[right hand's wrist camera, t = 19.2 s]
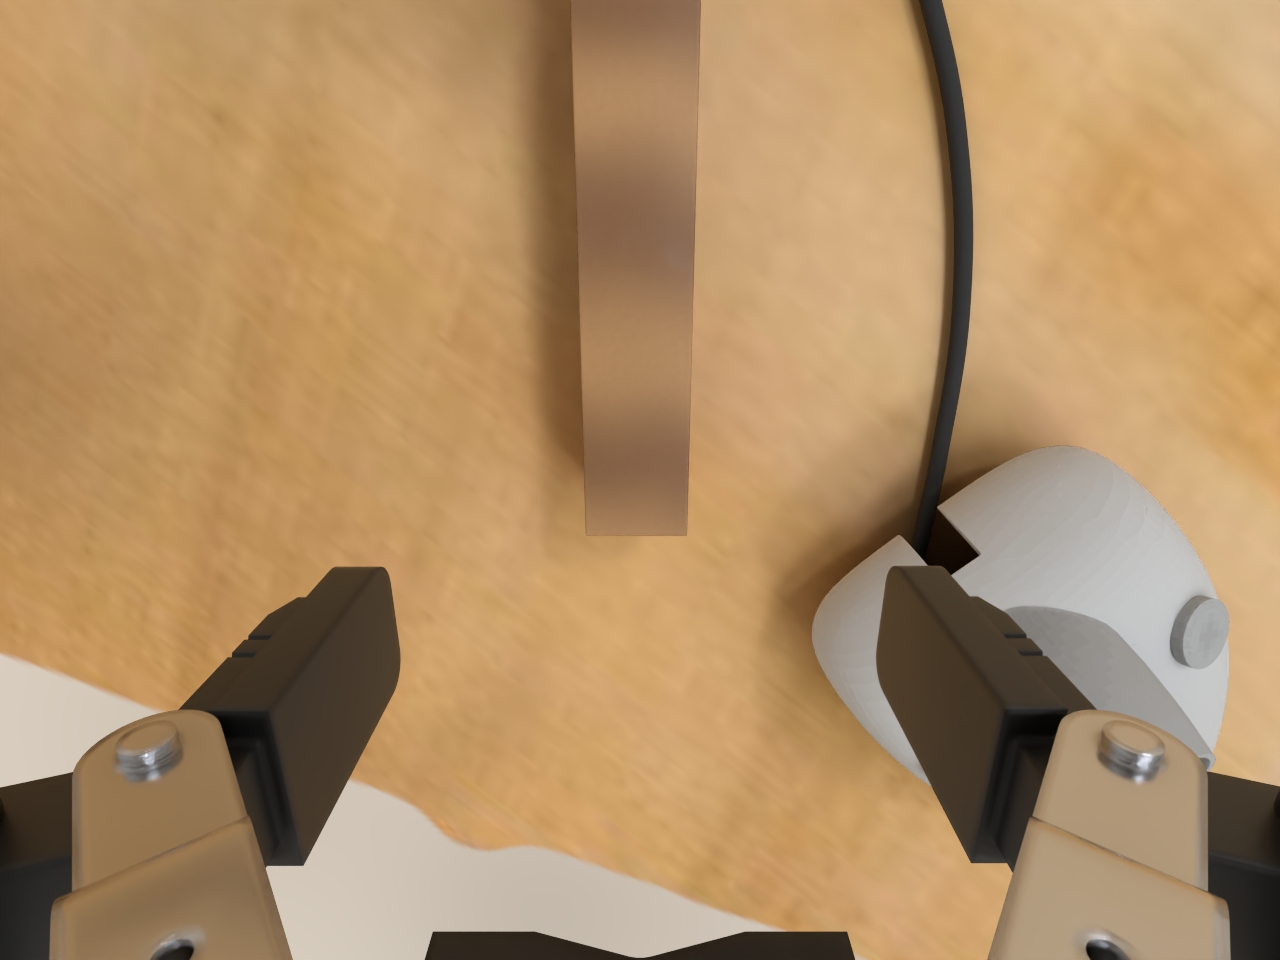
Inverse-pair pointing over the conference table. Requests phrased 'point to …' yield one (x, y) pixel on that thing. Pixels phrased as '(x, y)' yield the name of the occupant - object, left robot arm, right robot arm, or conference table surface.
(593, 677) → the conference table surface
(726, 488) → the conference table surface
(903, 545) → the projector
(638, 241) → the post
